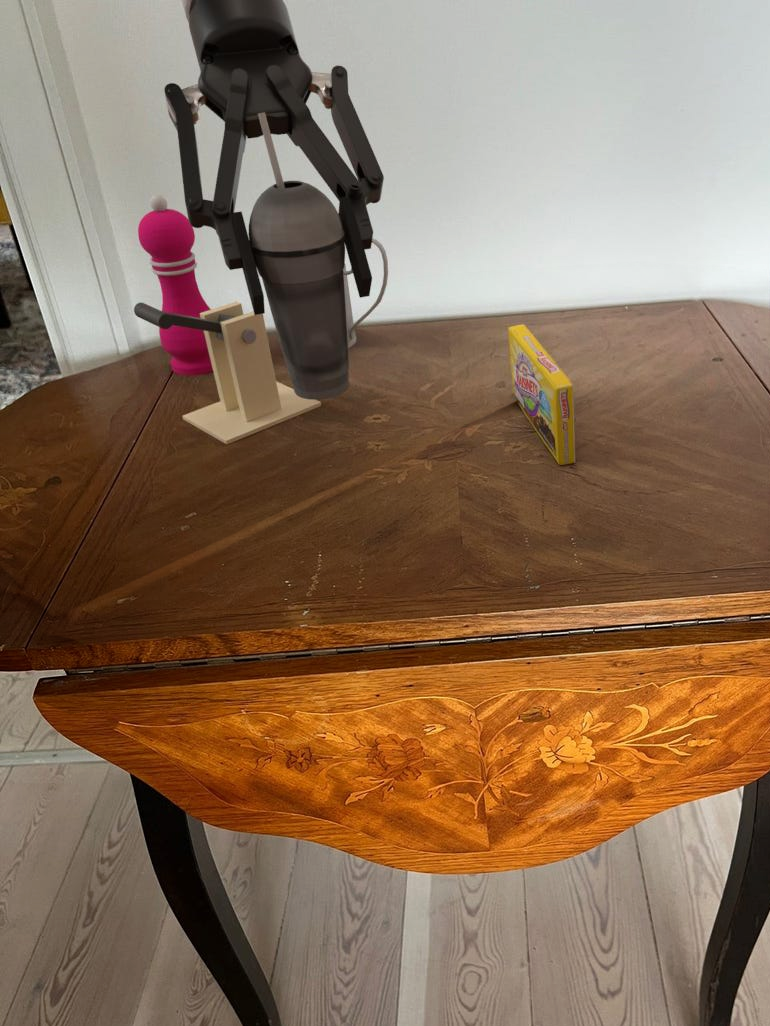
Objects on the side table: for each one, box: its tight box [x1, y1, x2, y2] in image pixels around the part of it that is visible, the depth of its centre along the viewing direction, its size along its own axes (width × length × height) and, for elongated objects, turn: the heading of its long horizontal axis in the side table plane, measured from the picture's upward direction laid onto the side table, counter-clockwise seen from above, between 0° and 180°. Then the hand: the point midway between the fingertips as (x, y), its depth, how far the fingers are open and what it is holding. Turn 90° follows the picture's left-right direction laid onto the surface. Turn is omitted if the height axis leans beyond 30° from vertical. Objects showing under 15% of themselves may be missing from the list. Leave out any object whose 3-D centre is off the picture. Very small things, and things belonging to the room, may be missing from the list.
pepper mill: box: [137, 194, 213, 376], centre depth 109 cm, size 7×7×20 cm
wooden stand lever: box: [133, 302, 235, 341], centre depth 95 cm, size 11×5×2 cm, turn 134°
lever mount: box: [181, 301, 322, 445], centre depth 100 cm, size 12×9×12 cm
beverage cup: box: [248, 112, 350, 401], centre depth 71 cm, size 7×7×20 cm
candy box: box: [508, 323, 576, 466], centre depth 96 cm, size 16×2×8 cm, turn 14°
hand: (313, 296), depth 70 cm, fingers closed on beverage cup, 7 cm apart
